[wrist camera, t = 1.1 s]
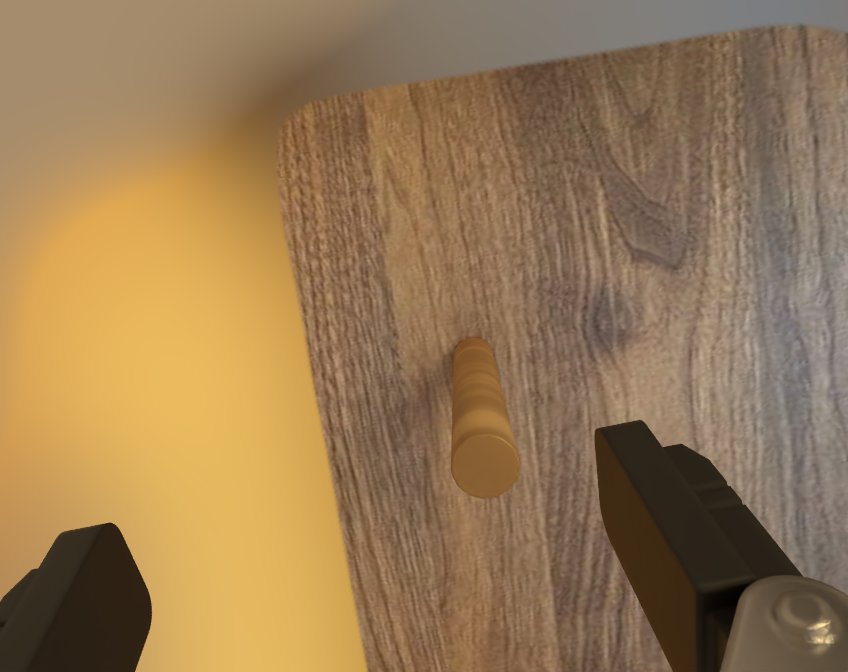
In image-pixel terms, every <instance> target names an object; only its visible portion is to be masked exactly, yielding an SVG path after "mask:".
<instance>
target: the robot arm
mask: <svg viewBox="0 0 848 672" xmlns="http://www.w3.org/2000/svg"><path fill="white" fill-rule="evenodd" d="M595 451H596V463H597V476H598V488H599V500H600V508H601V513H602V518H603V522H604V525H605V529H606V532H607V535H608V537H609V540H610V542H611V544H612V546H613V548H614V550H615V552H616V554H617V557H618V559H619V561H620V563H621V565H622V567H623V569H624V571H625V573H626V575H627V577H628V579H629V581H630V583H631V585H632V587H633V590H634V592H635V594H636V596H637V598H638V600H639V602H640V604H641V606H642V608H643V610H644V612H645V614H646V616H647V618H648V621H649V623H650V625H651V627H652V629H653V631H654V633H655V635H656V637H657V639H658V641H659V643H660V645H661V647H662V649H663V651H664V654H665V656H666V658H667V660H668V662H669V664H670V666H671V668H672V670H673V672H848V596H847V595H846V594H844V593H843V592H841V591H840V590H838V589H836V588H834V587H832V586H830V585H828V584H826V583H823V582H821V581H818V580H814V579H811V578H807V577H803V576H802V574H801V573H800V572H799V571H798V570H797V568H796V567H795V566H794V565H793V563H792V562H791V561H790V560H789V558H788V557H787V556H786V555H785V553H784V552H783V551H782V550H781V548H780V547H779V546H778V545H777V543H776V542H775V541H774V540H773V538H772V537H771V536H770V535H769V534H768V532H767V531H766V530H765V529H764V527H763V526H762V525H761V524H760V522H759V521H758V520H757V519H756V517H755V516H754V515H753V514H752V512H751V511H750V510H749V509H748V507H747V506H746V505H743V504H742V501H741V499H740V497H739V496H738V495H737V494H736V493H735V491H734V490H733V489H732V488H731V486H728V485H727V481H726V480H725V479H724V478H723V476H722V475H721V474H720V473H719V471H718V470H717V469H716V468H715V466H714V465H713V464H712V463H711V461H710V460H709V459H707V458H705V457H703V456H702V455H700V454H698V453H697V452H695V451H693V450H691V449H690V448H688V447H686V446H685V445H683V444H677V445H672V446H667V447H662V446H661V445H660V443H659V442H658V440H657V439H656V438H655V436H654V435H653V433H652V432H651V431H650V429H649V428H648V427H647V425H646V424H645V423H644V422H643V421H642V420H637V421H632V422H627V423H622V424H617V425H612V426H607V427H602V428H597V429H596V430H595ZM151 619H152V606H151V599H150V595H149V592H148V589H147V587H146V585H145V582H144V581H143V578H142V576H141V574H140V572H139V570H138V567H137V565H136V563H135V561H134V559H133V557H132V555H131V552H130V550H129V548H128V546H127V544H126V542H125V540H124V537H123V535H122V533H121V532H120V530H119V528H118V527H117V526H116V525H115V524H113V523H105V524H100V525H95V526H91V527H85V528H80V529H75V530H70V531H65V532H62V533H61V534H60V535H59V536H58V537H57V538H56V540H55V542H54V543H53V545H52V547H51V548H50V550H49V552H48V553H47V555H46V557H45V558H44V560H43V562H42V563H41V565H40V567H39V568H38V569H33V570H31V571H30V572H29V573H28V574H27V575H26V576H25V577H24V578H23V579H22V580H21V581H20V582H19V583H17V584H16V585H15V586H14V587H13V588H12V589H11V590H10V591H9V592H8V593H7V594H6V595H5V596H4V597H3V599H2V600H1V602H0V672H135V670H136V667H137V664H138V661H139V658H140V656H141V653H142V650H143V647H144V644H145V642H146V639H147V636H148V633H149V630H150V626H151Z"/></svg>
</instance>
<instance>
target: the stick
mask: <svg viewBox="0 0 848 672" xmlns="http://www.w3.org/2000/svg"><path fill="white" fill-rule="evenodd" d="M519 470H520V462H519V457H518V453H517V449H516V445H515V441H514V437H513V433H512V429H511V425H510V420H509V416H508V412H507V408H506V404H505V400H504V396H503V392H502V388H501V384H500V380H499V375H498V371H497V367H496V363H495V359H494V355H493V351H492V348H491V347H490V345H489V344H488V343H487V342H486V341H484V340H483V339H480V338H476V337H471V338H467V339H464V340H463V341H461V342H460V343H459V344H458V345H457V347H456V349H455V352H454V367H453V406H452V446H451V471H452V475H453V478H454V480H455V482H456V484H457V485H458V486H459V487H460V488H461V489H462V490H463V491H464V492H466V493H467V494H469V495H471V496H474V497H477V498H494V497H497V496H500V495H502V494H504V493H505V492H507V491H508V490H509V489H510V488H511V487H512V486H513V485H514V483H515V482H516V480H517V478H518V475H519Z"/></svg>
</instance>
